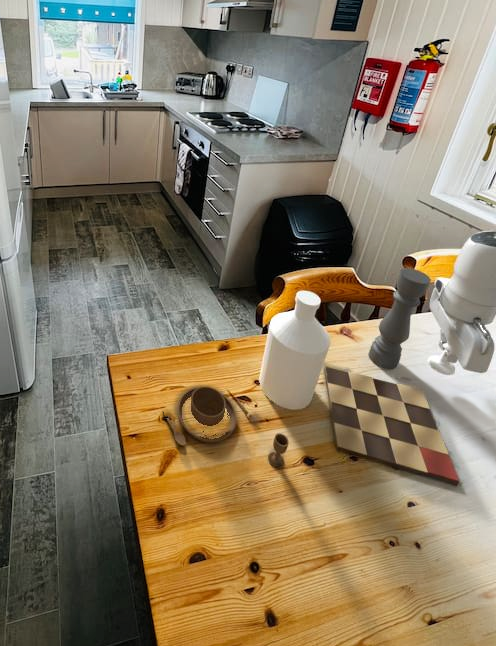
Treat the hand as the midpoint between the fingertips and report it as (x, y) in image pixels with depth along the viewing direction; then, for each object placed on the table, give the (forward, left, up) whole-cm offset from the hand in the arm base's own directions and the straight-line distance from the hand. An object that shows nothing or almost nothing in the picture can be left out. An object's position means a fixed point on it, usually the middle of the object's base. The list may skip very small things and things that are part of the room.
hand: (446, 354), depth 87 cm
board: (+14, +14, -9) cm, 22 cm away
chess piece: (0, 0, -4) cm, 4 cm away
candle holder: (+9, -4, -9) cm, 14 cm away
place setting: (+46, +28, -9) cm, 54 cm away
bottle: (+33, +12, -9) cm, 36 cm away
